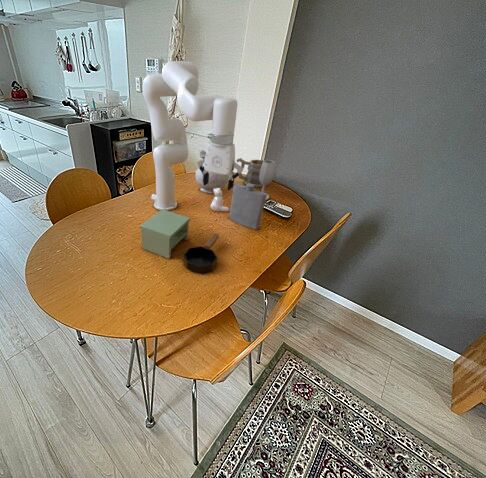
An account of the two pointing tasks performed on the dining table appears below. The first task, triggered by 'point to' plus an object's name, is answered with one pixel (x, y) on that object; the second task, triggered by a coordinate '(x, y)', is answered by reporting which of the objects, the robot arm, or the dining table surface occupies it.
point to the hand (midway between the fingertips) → (217, 186)
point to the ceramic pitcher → (210, 178)
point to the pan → (201, 257)
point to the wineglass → (266, 174)
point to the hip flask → (247, 206)
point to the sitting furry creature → (218, 201)
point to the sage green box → (164, 232)
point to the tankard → (251, 172)
